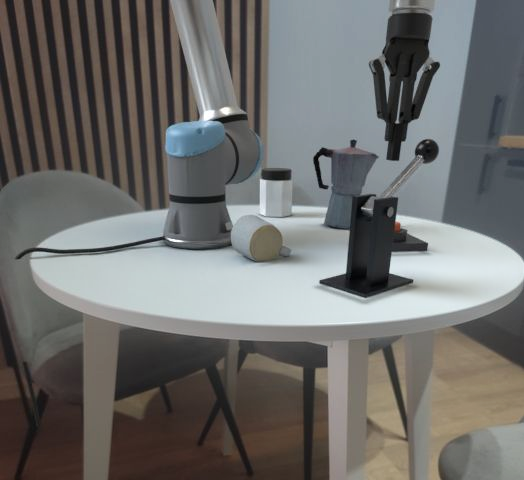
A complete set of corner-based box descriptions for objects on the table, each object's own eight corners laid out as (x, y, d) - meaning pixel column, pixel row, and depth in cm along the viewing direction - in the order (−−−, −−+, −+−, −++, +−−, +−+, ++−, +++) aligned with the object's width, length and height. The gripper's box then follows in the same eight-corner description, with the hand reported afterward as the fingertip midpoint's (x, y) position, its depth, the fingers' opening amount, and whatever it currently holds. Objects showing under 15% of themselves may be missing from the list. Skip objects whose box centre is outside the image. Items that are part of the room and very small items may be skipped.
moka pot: (375, 230, 120) (384, 140, 111) (311, 229, 120) (315, 139, 112) (368, 223, 128) (376, 139, 120) (308, 222, 129) (312, 138, 120)
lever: (425, 153, 80) (421, 133, 78) (445, 155, 78) (441, 134, 75) (362, 223, 75) (355, 204, 73) (381, 226, 73) (375, 207, 71)
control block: (369, 256, 97) (371, 235, 95) (352, 244, 106) (354, 225, 104) (426, 254, 99) (429, 233, 97) (405, 242, 108) (407, 224, 106)
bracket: (367, 274, 85) (376, 190, 79) (412, 286, 79) (425, 196, 73) (319, 287, 78) (324, 196, 72) (363, 302, 72) (374, 204, 66)
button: (385, 233, 99) (386, 224, 98) (378, 230, 102) (379, 221, 101) (402, 233, 99) (403, 224, 99) (395, 229, 103) (396, 221, 102)
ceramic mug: (250, 266, 88) (251, 223, 85) (229, 256, 95) (229, 215, 92) (299, 260, 93) (302, 219, 90) (277, 251, 100) (278, 212, 96)
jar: (273, 211, 144) (274, 167, 139) (296, 214, 139) (298, 169, 134) (253, 215, 137) (254, 169, 132) (277, 218, 133) (278, 171, 128)
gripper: (383, 8, 81) (367, 161, 91) (456, 13, 84) (433, 162, 94) (367, 16, 88) (353, 158, 98) (435, 20, 90) (415, 159, 100)
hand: (392, 160), depth 96 cm, fingers closed
